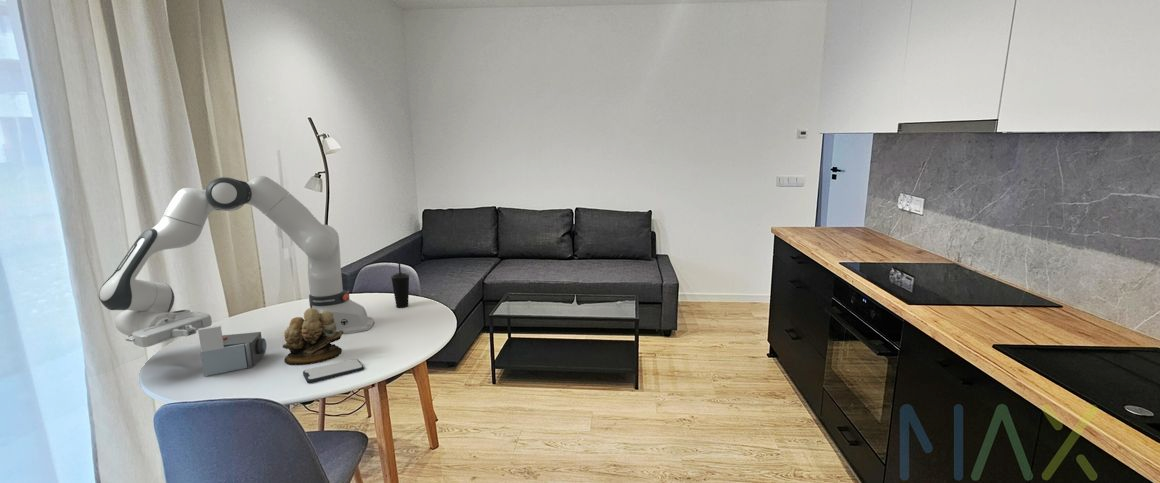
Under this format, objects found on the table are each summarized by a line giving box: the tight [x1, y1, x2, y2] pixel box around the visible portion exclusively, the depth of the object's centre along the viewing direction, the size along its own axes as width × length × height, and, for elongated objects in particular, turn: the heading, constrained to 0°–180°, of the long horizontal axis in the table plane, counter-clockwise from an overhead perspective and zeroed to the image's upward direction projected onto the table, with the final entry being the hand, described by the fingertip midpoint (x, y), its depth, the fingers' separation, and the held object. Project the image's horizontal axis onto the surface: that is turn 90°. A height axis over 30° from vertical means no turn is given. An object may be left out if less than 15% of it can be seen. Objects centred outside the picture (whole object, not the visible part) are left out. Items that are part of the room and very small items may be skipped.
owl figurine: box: [282, 307, 344, 366], centre depth 168 cm, size 18×12×17 cm, turn 119°
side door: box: [197, 324, 254, 377], centre depth 158 cm, size 12×1×15 cm, turn 121°
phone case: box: [302, 358, 365, 385], centre depth 159 cm, size 9×2×16 cm
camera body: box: [222, 331, 267, 368], centre depth 165 cm, size 15×10×9 cm, turn 106°
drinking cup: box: [390, 260, 411, 309], centre depth 219 cm, size 8×8×20 cm
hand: (191, 332), depth 156 cm, fingers closed
